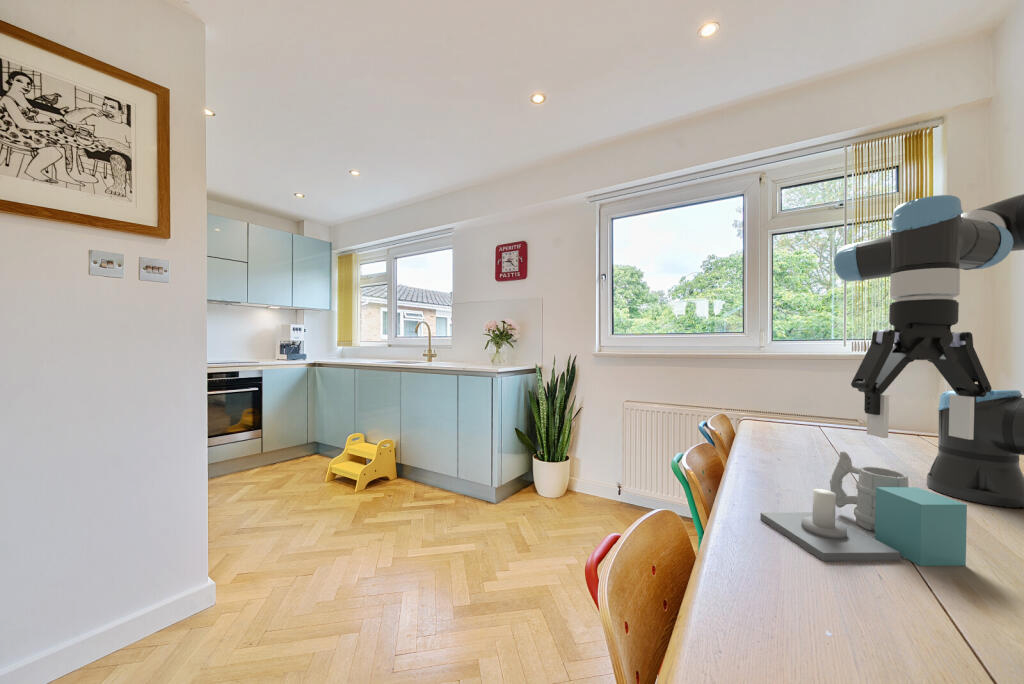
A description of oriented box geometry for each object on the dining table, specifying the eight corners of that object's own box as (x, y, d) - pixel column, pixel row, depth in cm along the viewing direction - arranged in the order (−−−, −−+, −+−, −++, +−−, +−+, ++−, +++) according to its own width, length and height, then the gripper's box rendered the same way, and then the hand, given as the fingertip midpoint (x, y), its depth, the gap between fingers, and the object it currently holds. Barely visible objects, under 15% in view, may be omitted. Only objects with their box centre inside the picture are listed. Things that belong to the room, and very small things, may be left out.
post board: (823, 519, 74) (824, 477, 74) (900, 560, 60) (901, 509, 60) (760, 519, 74) (761, 477, 74) (823, 560, 60) (824, 509, 60)
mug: (901, 541, 66) (902, 469, 66) (819, 513, 76) (820, 451, 76) (920, 532, 69) (921, 463, 69) (839, 506, 80) (840, 446, 80)
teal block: (915, 541, 66) (916, 487, 66) (965, 565, 59) (966, 504, 59) (874, 542, 66) (876, 487, 66) (920, 565, 59) (921, 504, 59)
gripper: (970, 304, 67) (966, 432, 67) (825, 300, 65) (821, 430, 65) (1030, 300, 59) (1026, 444, 59) (868, 294, 58) (864, 441, 58)
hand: (919, 437), depth 62 cm, fingers open, 13 cm apart
